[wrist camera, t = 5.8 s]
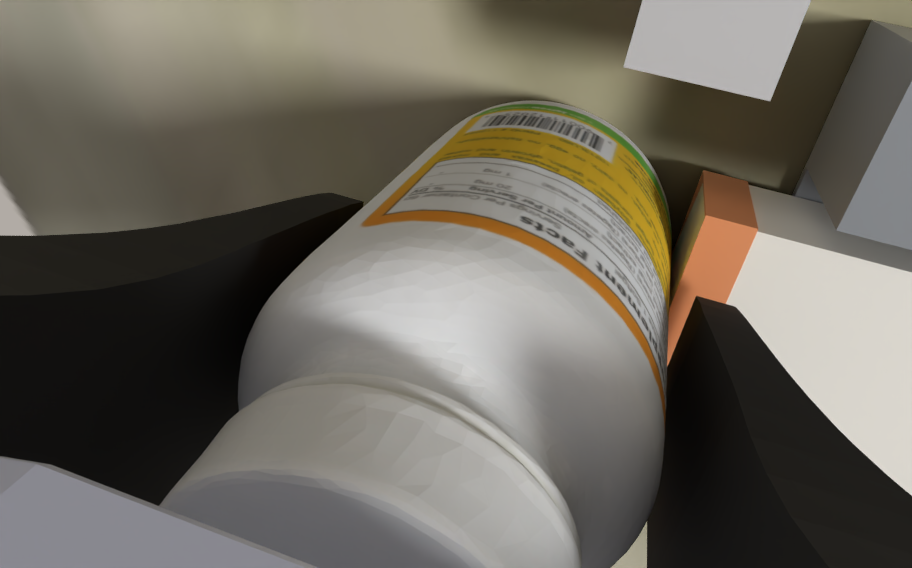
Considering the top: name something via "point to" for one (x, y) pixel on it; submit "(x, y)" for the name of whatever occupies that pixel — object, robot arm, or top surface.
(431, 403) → the supplement bottle
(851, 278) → the orange-ended white block
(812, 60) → the top surface
